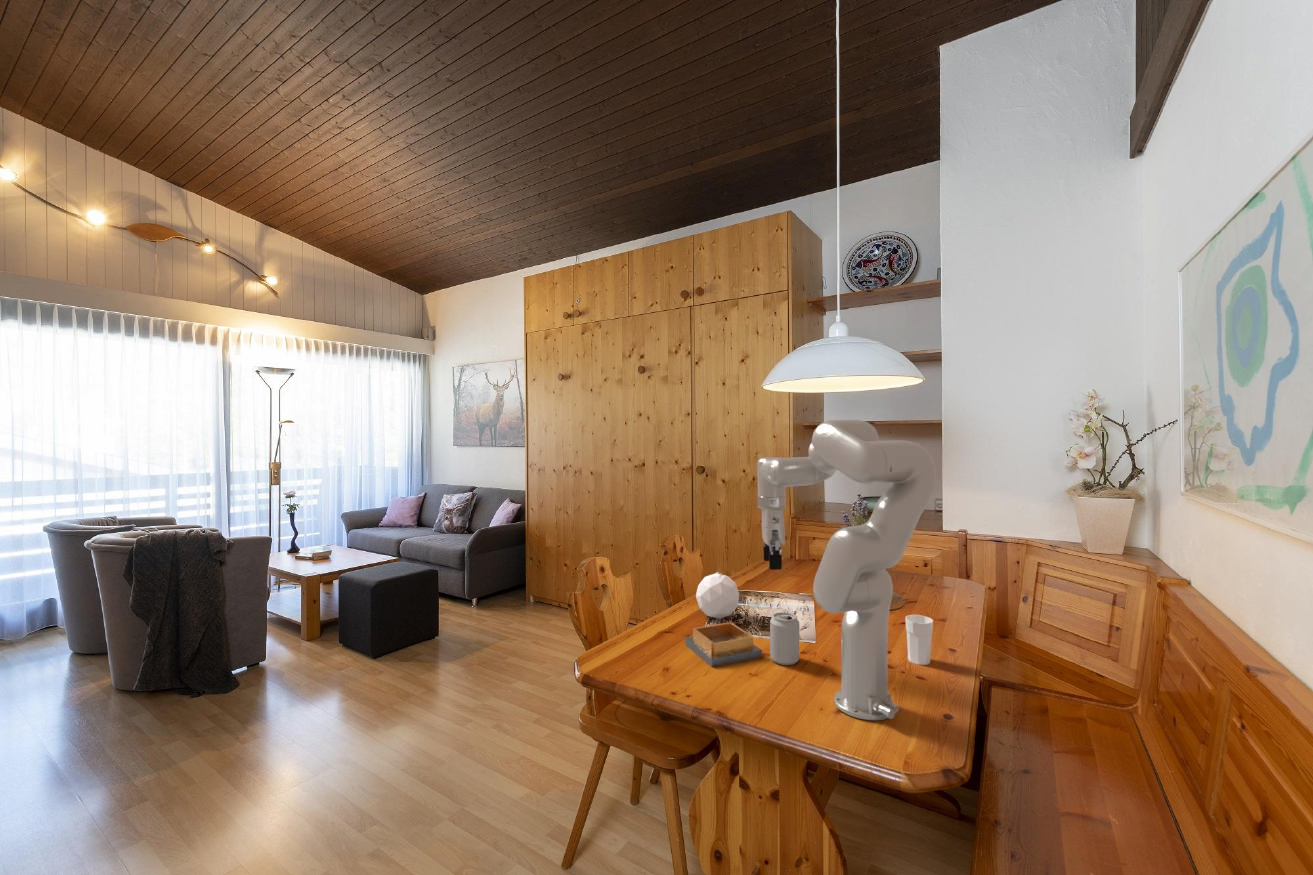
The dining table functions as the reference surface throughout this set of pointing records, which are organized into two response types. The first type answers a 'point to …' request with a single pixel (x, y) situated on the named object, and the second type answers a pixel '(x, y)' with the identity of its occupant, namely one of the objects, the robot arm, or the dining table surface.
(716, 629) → the open square box
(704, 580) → the geodesic sphere
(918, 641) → the cup
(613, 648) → the dining table surface
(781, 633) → the can
